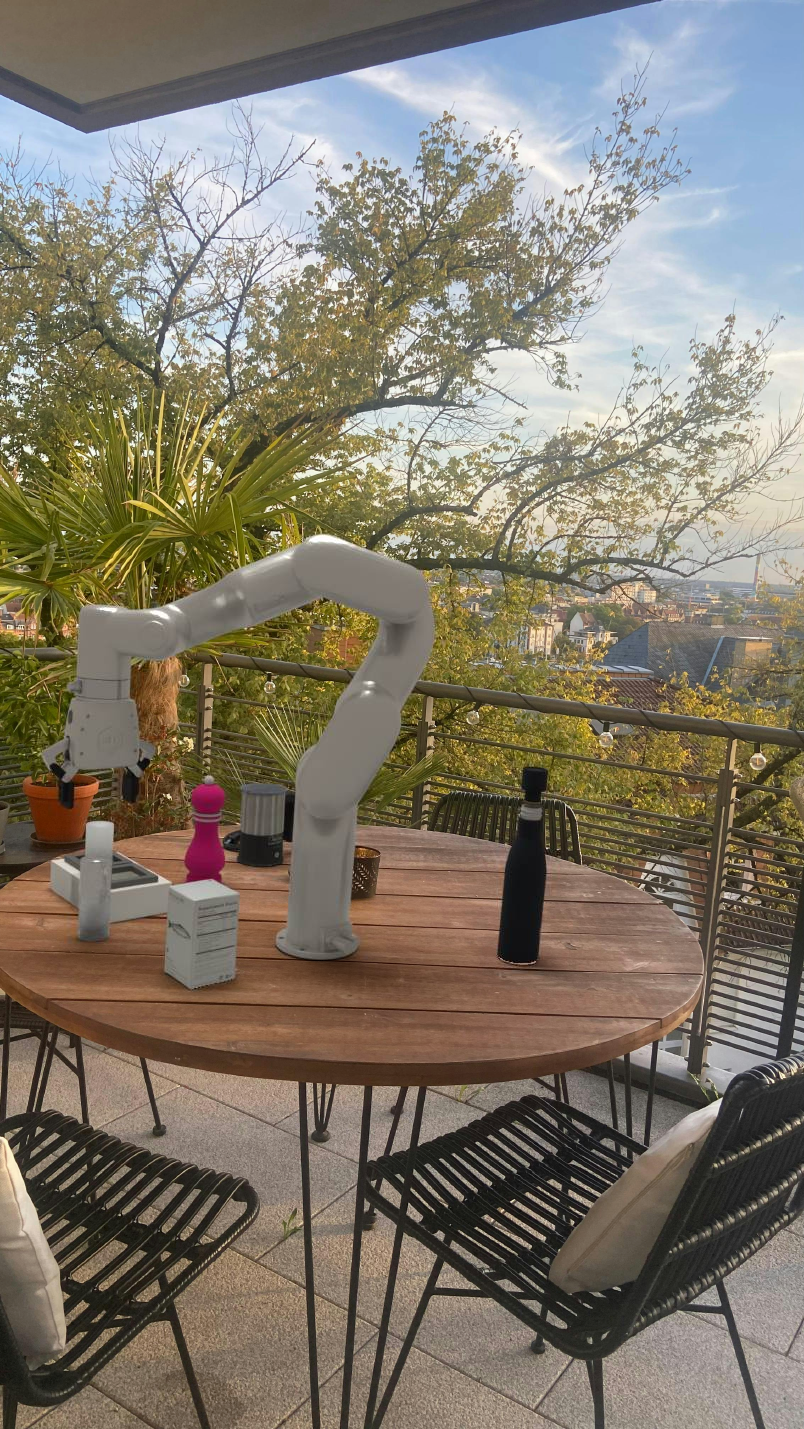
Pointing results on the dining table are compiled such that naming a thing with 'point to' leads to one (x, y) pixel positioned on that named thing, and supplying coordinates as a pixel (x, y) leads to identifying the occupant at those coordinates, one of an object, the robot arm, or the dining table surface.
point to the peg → (94, 898)
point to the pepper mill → (206, 834)
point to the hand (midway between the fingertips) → (98, 804)
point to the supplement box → (201, 933)
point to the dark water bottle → (525, 877)
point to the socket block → (113, 878)
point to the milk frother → (263, 824)
